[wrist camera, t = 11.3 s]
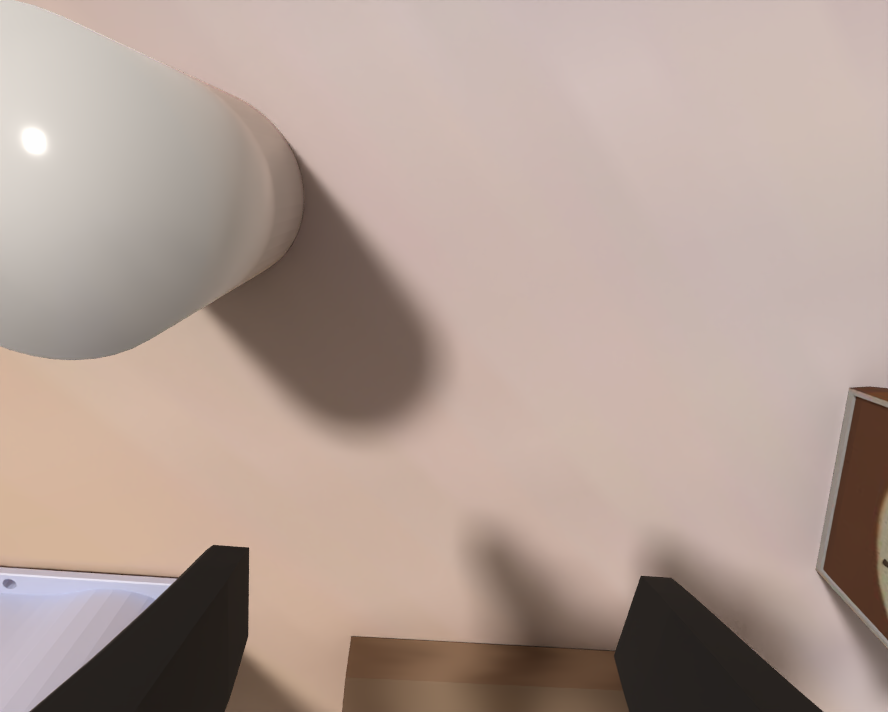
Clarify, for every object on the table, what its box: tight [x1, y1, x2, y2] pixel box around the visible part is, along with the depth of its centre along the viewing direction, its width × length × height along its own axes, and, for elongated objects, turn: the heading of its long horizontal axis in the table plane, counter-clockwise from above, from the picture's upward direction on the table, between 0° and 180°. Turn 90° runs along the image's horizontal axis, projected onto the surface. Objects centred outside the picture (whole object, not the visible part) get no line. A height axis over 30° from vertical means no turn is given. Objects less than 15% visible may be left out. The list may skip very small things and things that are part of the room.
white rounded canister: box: [0, 0, 304, 360], centre depth 12 cm, size 6×6×8 cm
